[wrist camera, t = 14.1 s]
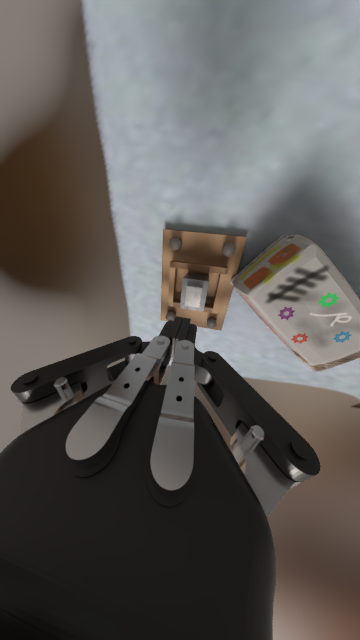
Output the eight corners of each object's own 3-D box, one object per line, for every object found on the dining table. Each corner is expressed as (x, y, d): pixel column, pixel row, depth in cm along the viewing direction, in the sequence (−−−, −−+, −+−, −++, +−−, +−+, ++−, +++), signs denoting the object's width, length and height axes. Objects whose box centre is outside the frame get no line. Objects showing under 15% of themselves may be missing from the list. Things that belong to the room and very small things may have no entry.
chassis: (165, 229, 25) (159, 227, 22) (245, 237, 23) (250, 236, 20) (162, 317, 34) (158, 324, 31) (220, 327, 32) (221, 335, 29)
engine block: (188, 271, 26) (181, 279, 20) (209, 274, 26) (209, 282, 20) (185, 296, 29) (179, 309, 23) (204, 299, 28) (203, 313, 22)
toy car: (298, 356, 32) (331, 397, 23) (226, 280, 27) (234, 296, 18) (355, 329, 27) (424, 369, 18) (279, 231, 22) (325, 222, 13)
